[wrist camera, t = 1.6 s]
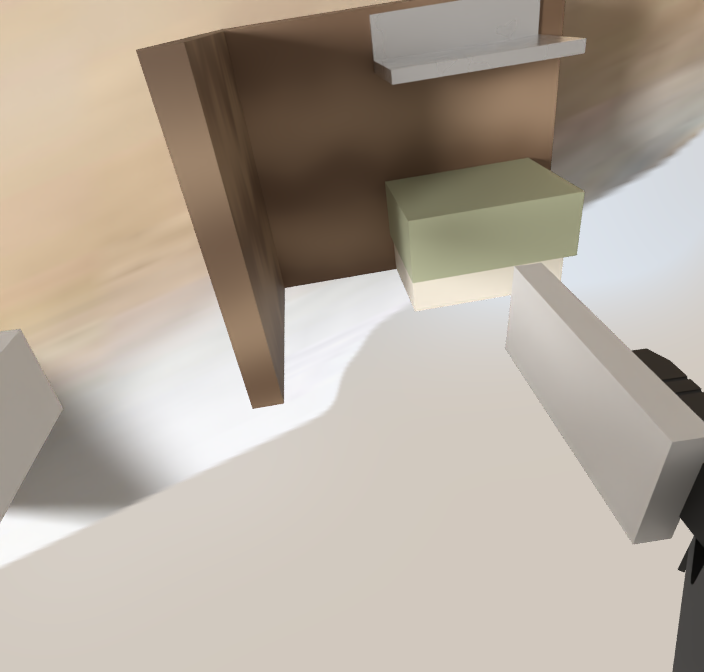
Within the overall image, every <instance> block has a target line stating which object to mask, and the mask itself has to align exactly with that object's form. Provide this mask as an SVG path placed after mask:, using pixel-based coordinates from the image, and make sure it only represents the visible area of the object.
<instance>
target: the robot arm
mask: <svg viewBox="0 0 704 672" xmlns="http://www.w3.org/2000/svg"><path fill="white" fill-rule="evenodd" d="M505 349H506V351H507V352H508V354H509V355H510V357H511V358H512V360H513V361H514V363H515V364H516V366H517V367H518V369H519V371H520V372H521V374H522V375H523V377H524V378H525V380H526V381H527V383H528V384H529V386H530V387H531V389H532V390H533V392H534V393H535V395H536V397H537V398H538V400H539V401H540V403H541V404H542V406H543V407H544V409H545V410H546V412H547V413H548V415H549V417H550V418H551V419H552V421H553V423H554V424H555V426H556V427H557V429H558V430H559V432H560V433H561V435H562V436H563V438H564V439H565V441H566V442H567V444H568V446H569V447H570V449H571V450H572V452H573V453H574V455H575V456H576V458H577V459H578V461H579V462H580V464H581V465H582V467H583V468H584V470H585V471H586V473H587V475H588V476H589V478H590V479H591V481H592V482H593V484H594V485H595V487H596V488H597V490H598V491H599V493H600V494H601V496H602V497H603V499H604V501H605V502H606V504H607V505H608V507H609V508H610V510H611V511H612V513H613V514H614V516H615V518H616V519H617V521H618V522H619V524H620V525H621V526H622V528H623V530H624V531H625V533H626V534H627V536H628V537H629V539H630V540H631V542H632V544H638V543H645V542H651V541H658V540H664V539H670V538H672V536H673V533H674V531H675V529H676V527H677V525H678V522H679V520H680V518H681V519H682V521H683V522H684V523H685V524H686V526H687V527H688V528H689V530H690V531H691V532H692V533H693V535H694V537H693V539H692V541H691V543H690V545H689V547H688V549H687V551H686V553H685V555H684V558H683V559H682V562H681V564H680V566H679V568H678V570H679V571H682V572H685V570H686V573H685V581H684V588H683V596H682V603H681V611H680V619H679V626H678V634H677V642H676V650H675V658H674V664H673V672H704V392H702V391H701V388H700V387H699V386H698V385H696V384H695V383H694V382H693V381H692V380H691V379H687V376H686V375H685V374H684V373H683V372H682V371H681V370H680V369H679V368H678V367H677V366H675V365H674V364H673V363H672V362H671V361H670V360H668V359H666V358H664V357H662V356H660V355H658V354H656V353H654V352H652V351H650V350H649V349H640V350H633V351H631V350H630V349H629V348H628V347H627V346H626V345H625V344H624V343H623V342H622V341H621V340H620V339H619V338H618V337H617V336H616V335H615V334H614V333H613V332H612V331H611V330H610V329H609V328H608V327H607V326H606V325H605V324H604V323H603V322H602V321H601V320H599V319H598V318H597V317H596V316H595V315H594V314H593V313H592V312H591V311H590V310H589V309H588V308H587V307H586V306H585V305H584V304H583V303H582V302H581V301H580V300H579V299H578V298H577V297H576V296H575V295H574V294H573V293H572V292H571V291H570V290H569V289H568V288H567V287H566V286H565V285H564V284H563V283H562V282H561V281H560V280H559V279H558V278H557V277H556V276H555V275H554V274H553V273H552V272H551V271H549V270H548V269H547V268H546V267H545V266H544V265H543V264H542V263H536V264H528V265H520V266H514V273H513V282H512V291H511V301H510V310H509V320H508V329H507V337H506V347H505ZM62 410H63V407H62V405H61V403H60V402H59V400H58V398H57V396H56V394H55V392H54V390H53V388H52V387H51V385H50V383H49V381H48V379H47V377H46V375H45V374H44V372H43V370H42V368H41V366H40V364H39V362H38V361H37V359H36V357H35V355H34V353H33V351H32V349H31V348H30V346H29V344H28V342H27V340H26V338H25V336H24V335H23V333H22V331H21V329H16V330H8V331H1V332H0V522H1V520H2V518H3V517H4V515H5V513H6V511H7V509H8V508H9V506H10V504H11V502H12V500H13V499H14V497H15V495H16V493H17V491H18V490H19V488H20V486H21V484H22V482H23V480H24V479H25V477H26V475H27V473H28V471H29V470H30V468H31V466H32V464H33V462H34V461H35V459H36V457H37V455H38V453H39V452H40V450H41V448H42V446H43V444H44V443H45V441H46V439H47V437H48V435H49V434H50V432H51V430H52V428H53V426H54V425H55V423H56V421H57V419H58V417H59V416H60V414H61V412H62Z"/></svg>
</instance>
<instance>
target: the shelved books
mask: <svg viewBox="0 0 704 672" xmlns="http://www.w3.org/2000/svg"><path fill="white" fill-rule="evenodd" d="M385 187H386V197H387V208H388V218H389V229H390V236H391V238H392V240H393V242H394V249H395V260H396V268H397V271H398V273H399V275H400V277H401V280H402V282H403V284H404V287H405V289H406V291H407V294H408V296H409V298H410V301H411V303H412V305H413V308H414V310H415V311H421V310H427V309H432V308H438V307H444V306H450V305H456V304H462V303H467V302H473V301H479V300H485V299H490V298H496V297H502V296H508V295H511V291H512V282H513V273H514V266H520V265H528V264H536V263H542V264H543V265H544V266H545V267H546V268H547V269H548V270H549V271H551V272H552V273H553V274H554V275H555V276H556V277H557V278H558V279H559V280H560V281H561V274H562V265H563V257H569V256H575V255H577V248H578V241H579V232H580V225H581V217H582V209H583V201H584V193H585V191H583V190H582V189H580V188H578V187H577V186H575V185H573V184H571V183H570V182H568V181H566V180H565V179H563V178H561V177H560V176H558V175H556V174H555V173H553V172H551V171H550V170H548V169H546V168H545V167H543V166H541V165H540V164H538V163H536V162H535V161H533V160H531V159H530V158H524V159H518V160H512V161H506V162H500V163H494V164H488V165H482V166H476V167H470V168H464V169H458V170H452V171H446V172H440V173H434V174H428V175H422V176H416V177H410V178H404V179H398V180H392V181H386V182H385Z"/></svg>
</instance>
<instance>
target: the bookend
mask: <svg viewBox="0 0 704 672" xmlns="http://www.w3.org/2000/svg"><path fill="white" fill-rule="evenodd" d="M539 12H540V0H458V1H452V2H446V3H439V4H433V5H427V6H421V7H415V8H408V9H402V10H396V11H390V12H384V13H377V14H371V15H369V21H370V31H371V42H372V52H373V62H374V73H375V74H377V75H378V76H380V77H381V78H383V79H384V80H386V81H387V82H389V83H390V84H392V85H394V84H400V83H406V82H413V81H419V80H425V79H431V78H437V77H443V76H449V75H455V74H461V73H467V72H474V71H480V70H486V69H492V68H498V67H504V66H510V65H516V64H522V63H529V62H535V61H541V60H547V59H553V58H559V57H565V56H571V55H577V54H584V53H585V47H586V38H577V37H565V36H553V35H541V34H538V28H539Z"/></svg>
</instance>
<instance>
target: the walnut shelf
mask: <svg viewBox="0 0 704 672" xmlns="http://www.w3.org/2000/svg"><path fill="white" fill-rule="evenodd" d="M452 1H458V0H402V1H396V2H390V3H383V4H377V5H371V6H365V7H359V8H352V9H346V10H340V11H334V12H327V13H321V14H315V15H309V16H303V17H296V18H290V19H284V20H278V21H271V22H265V23H259V24H253V25H246V26H240V27H234V28H228V29H222V30H217V31H213V32H209V33H205V34H201V35H196V36H192V37H188V38H184V39H180V40H176V41H171V42H167V43H163V44H159V45H155V46H151V47H147V48H142V49H138V50H136V51H137V54H138V58H139V61H140V64H141V67H142V70H143V73H144V76H145V79H146V82H147V85H148V88H149V91H150V94H151V97H152V101H153V104H154V107H155V110H156V113H157V116H158V119H159V122H160V125H161V128H162V131H163V134H164V137H165V141H166V144H167V147H168V150H169V153H170V156H171V159H172V162H173V165H174V168H175V171H176V174H177V177H178V181H179V184H180V187H181V190H182V193H183V196H184V199H185V202H186V205H187V208H188V211H189V214H190V217H191V220H192V224H193V227H194V230H195V233H196V236H197V239H198V242H199V245H200V248H201V251H202V254H203V257H204V260H205V264H206V267H207V270H208V273H209V276H210V279H211V282H212V285H213V288H214V291H215V294H216V297H217V300H218V304H219V307H220V310H221V313H222V316H223V319H224V322H225V325H226V328H227V331H228V334H229V337H230V340H231V343H232V347H233V350H234V353H235V356H236V359H237V362H238V365H239V368H240V371H241V374H242V377H243V380H244V383H245V387H246V390H247V393H248V396H249V399H250V402H251V405H252V408H253V409H255V408H260V407H266V406H272V405H277V404H283V403H284V312H285V288H287V287H293V286H299V285H305V284H310V283H316V282H322V281H328V280H334V279H340V278H346V277H351V276H357V275H363V274H369V273H375V272H381V271H387V270H392V269H397V268H396V260H395V249H394V242H393V240H392V238H391V236H390V229H389V218H388V208H387V197H386V187H385V182H386V181H392V180H398V179H404V178H410V177H416V176H422V175H428V174H434V173H440V172H446V171H452V170H458V169H464V168H470V167H476V166H482V165H488V164H494V163H500V162H506V161H512V160H518V159H524V158H530V159H531V160H533V161H535V162H536V163H538V164H540V165H541V166H543V167H545V168H546V169H548V170H551V159H552V147H553V136H554V124H555V113H556V101H557V89H558V78H559V66H560V57H559V58H553V59H547V60H541V61H535V62H529V63H522V64H516V65H510V66H504V67H498V68H492V69H486V70H480V71H474V72H467V73H461V74H455V75H449V76H443V77H437V78H431V79H425V80H419V81H413V82H406V83H400V84H394V85H392V84H390V83H389V82H387V81H386V80H384V79H383V78H381V77H380V76H378V75H377V74H375V73H374V62H373V52H372V42H371V31H370V21H369V15H371V14H377V13H384V12H390V11H396V10H402V9H408V8H415V7H421V6H427V5H433V4H439V3H446V2H452ZM564 9H565V0H540V12H539V28H538V34H541V35H553V36H562V32H563V20H564Z"/></svg>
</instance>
